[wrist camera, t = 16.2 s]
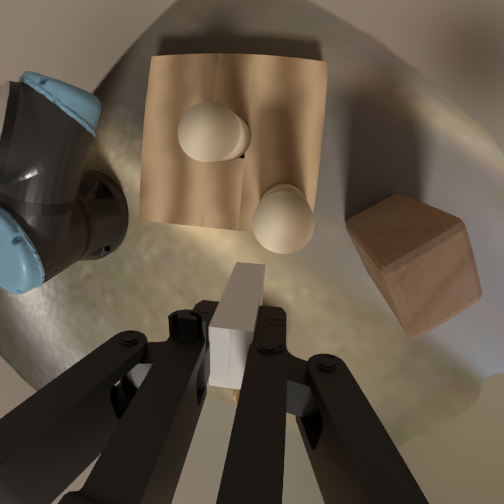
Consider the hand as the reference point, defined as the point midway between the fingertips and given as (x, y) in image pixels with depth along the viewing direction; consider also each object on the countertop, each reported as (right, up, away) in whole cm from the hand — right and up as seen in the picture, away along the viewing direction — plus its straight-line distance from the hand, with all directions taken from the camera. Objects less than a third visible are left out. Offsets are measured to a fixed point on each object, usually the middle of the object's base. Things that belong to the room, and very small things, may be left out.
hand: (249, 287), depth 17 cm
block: (+20, +5, +28) cm, 35 cm away
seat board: (-2, +18, +26) cm, 32 cm away
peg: (-3, +18, +26) cm, 31 cm away
